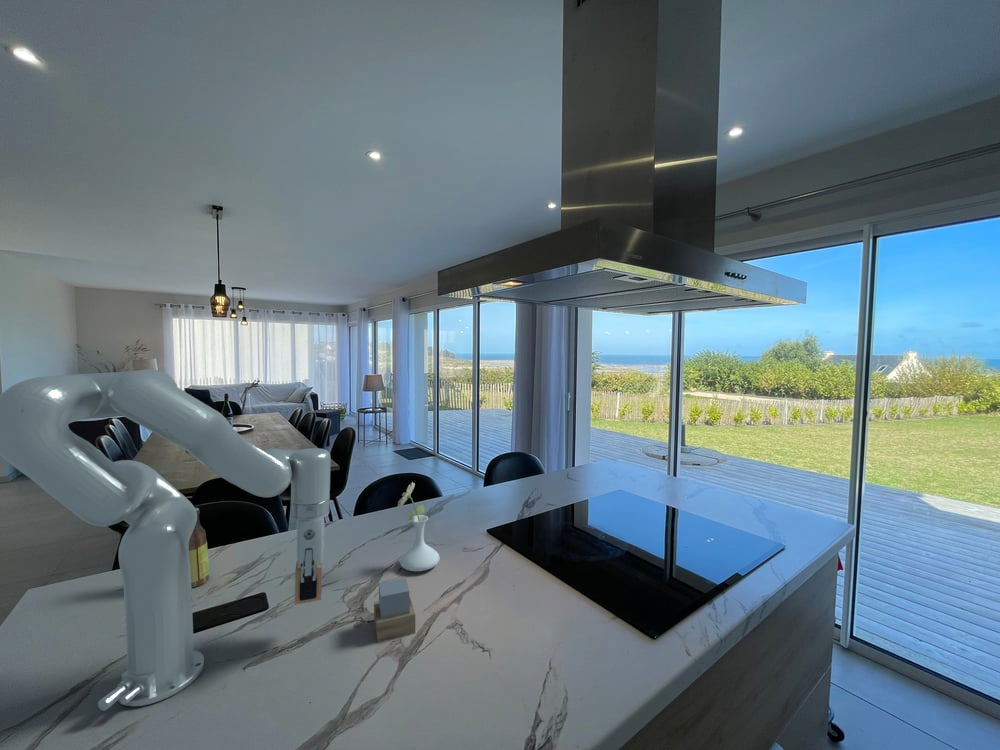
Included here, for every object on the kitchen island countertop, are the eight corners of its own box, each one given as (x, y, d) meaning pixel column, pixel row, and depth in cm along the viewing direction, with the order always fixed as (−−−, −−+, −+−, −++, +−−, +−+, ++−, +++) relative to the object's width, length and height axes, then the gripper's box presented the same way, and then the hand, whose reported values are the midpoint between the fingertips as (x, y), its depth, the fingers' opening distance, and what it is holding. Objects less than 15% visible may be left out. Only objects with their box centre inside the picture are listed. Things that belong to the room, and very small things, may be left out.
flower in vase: (418, 552, 127) (417, 472, 126) (447, 561, 121) (447, 477, 120) (386, 571, 116) (385, 483, 115) (417, 582, 110) (416, 490, 109)
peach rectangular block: (321, 599, 87) (321, 567, 87) (294, 604, 85) (295, 571, 85) (321, 587, 92) (321, 556, 92) (296, 591, 90) (296, 560, 90)
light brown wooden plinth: (415, 634, 90) (415, 614, 90) (377, 643, 87) (377, 623, 87) (409, 613, 97) (409, 594, 97) (374, 621, 94) (373, 602, 94)
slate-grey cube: (409, 613, 90) (409, 591, 90) (381, 619, 88) (380, 596, 88) (405, 598, 96) (405, 577, 96) (378, 603, 94) (378, 582, 94)
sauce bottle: (205, 574, 114) (203, 503, 113) (212, 582, 110) (210, 508, 109) (175, 584, 109) (173, 510, 108) (182, 593, 105) (180, 516, 104)
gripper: (329, 520, 82) (327, 610, 82) (329, 493, 97) (327, 569, 98) (287, 524, 79) (285, 618, 79) (293, 496, 94) (291, 575, 95)
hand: (308, 590), depth 88 cm, fingers closed on peach rectangular block, 4 cm apart
